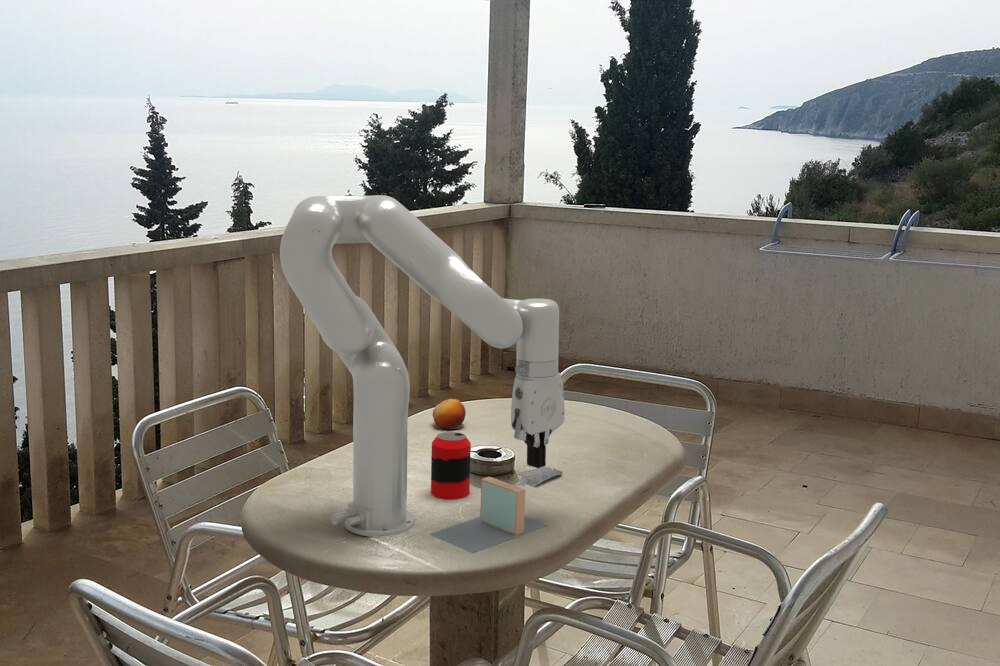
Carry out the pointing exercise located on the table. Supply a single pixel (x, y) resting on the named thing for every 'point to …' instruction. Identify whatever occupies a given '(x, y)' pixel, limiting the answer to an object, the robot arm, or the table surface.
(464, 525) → the mat
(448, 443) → the soda can
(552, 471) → the stone slab
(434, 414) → the fruit
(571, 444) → the table surface
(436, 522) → the table surface
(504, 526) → the tile
